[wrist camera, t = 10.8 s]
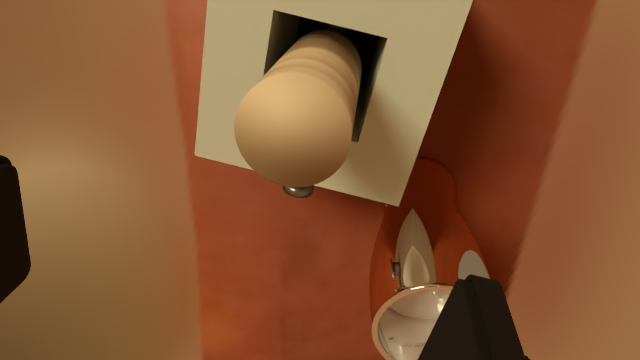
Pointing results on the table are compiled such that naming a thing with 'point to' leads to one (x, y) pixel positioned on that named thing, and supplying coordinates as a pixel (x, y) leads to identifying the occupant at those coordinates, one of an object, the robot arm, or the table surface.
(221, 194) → the table surface
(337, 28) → the plunger
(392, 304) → the beer glass
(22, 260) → the robot arm
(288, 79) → the peg
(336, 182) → the socket
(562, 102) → the table surface
